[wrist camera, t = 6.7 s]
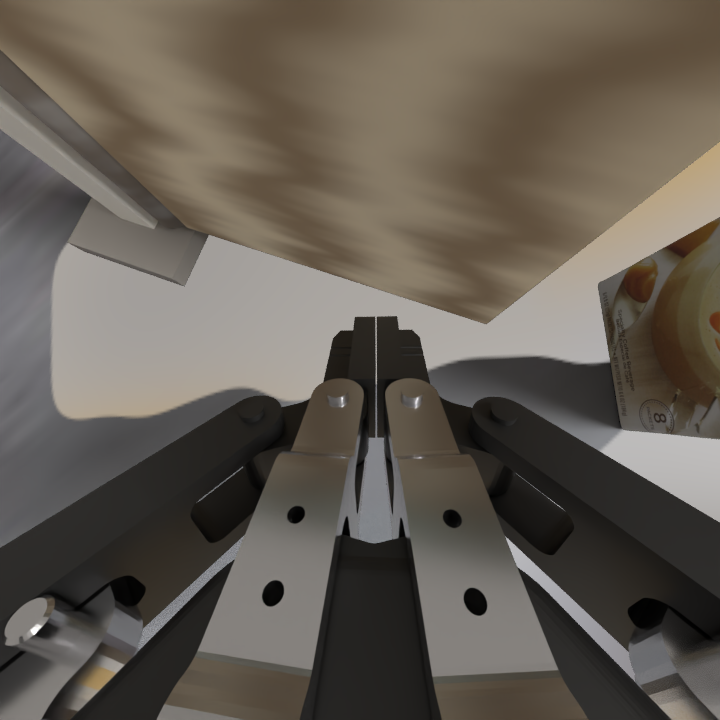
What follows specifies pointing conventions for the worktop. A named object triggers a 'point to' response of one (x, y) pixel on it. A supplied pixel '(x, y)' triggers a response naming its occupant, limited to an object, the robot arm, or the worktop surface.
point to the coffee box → (668, 337)
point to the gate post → (106, 206)
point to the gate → (380, 124)
